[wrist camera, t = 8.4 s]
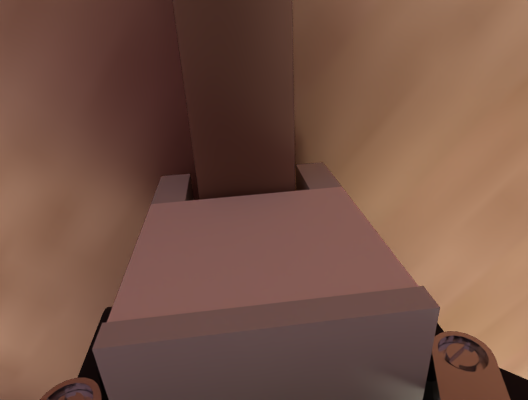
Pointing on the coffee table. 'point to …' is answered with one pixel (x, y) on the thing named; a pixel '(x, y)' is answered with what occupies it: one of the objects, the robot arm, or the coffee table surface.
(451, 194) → the coffee table surface
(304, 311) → the block
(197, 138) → the rail
